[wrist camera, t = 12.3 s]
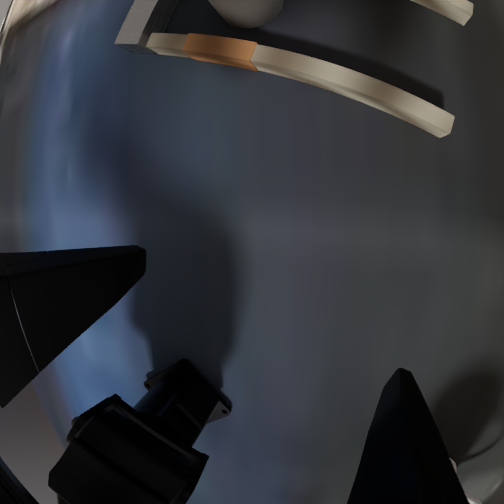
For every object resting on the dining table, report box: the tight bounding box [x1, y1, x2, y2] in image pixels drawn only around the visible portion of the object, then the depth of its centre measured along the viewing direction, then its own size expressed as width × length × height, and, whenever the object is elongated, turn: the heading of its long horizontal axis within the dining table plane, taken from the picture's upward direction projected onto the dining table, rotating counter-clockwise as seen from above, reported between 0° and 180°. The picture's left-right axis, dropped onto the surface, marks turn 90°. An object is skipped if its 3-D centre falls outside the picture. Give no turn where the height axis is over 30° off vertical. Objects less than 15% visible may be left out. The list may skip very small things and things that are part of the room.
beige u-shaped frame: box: [114, 0, 473, 138], centre depth 15 cm, size 24×11×2 cm, turn 70°
